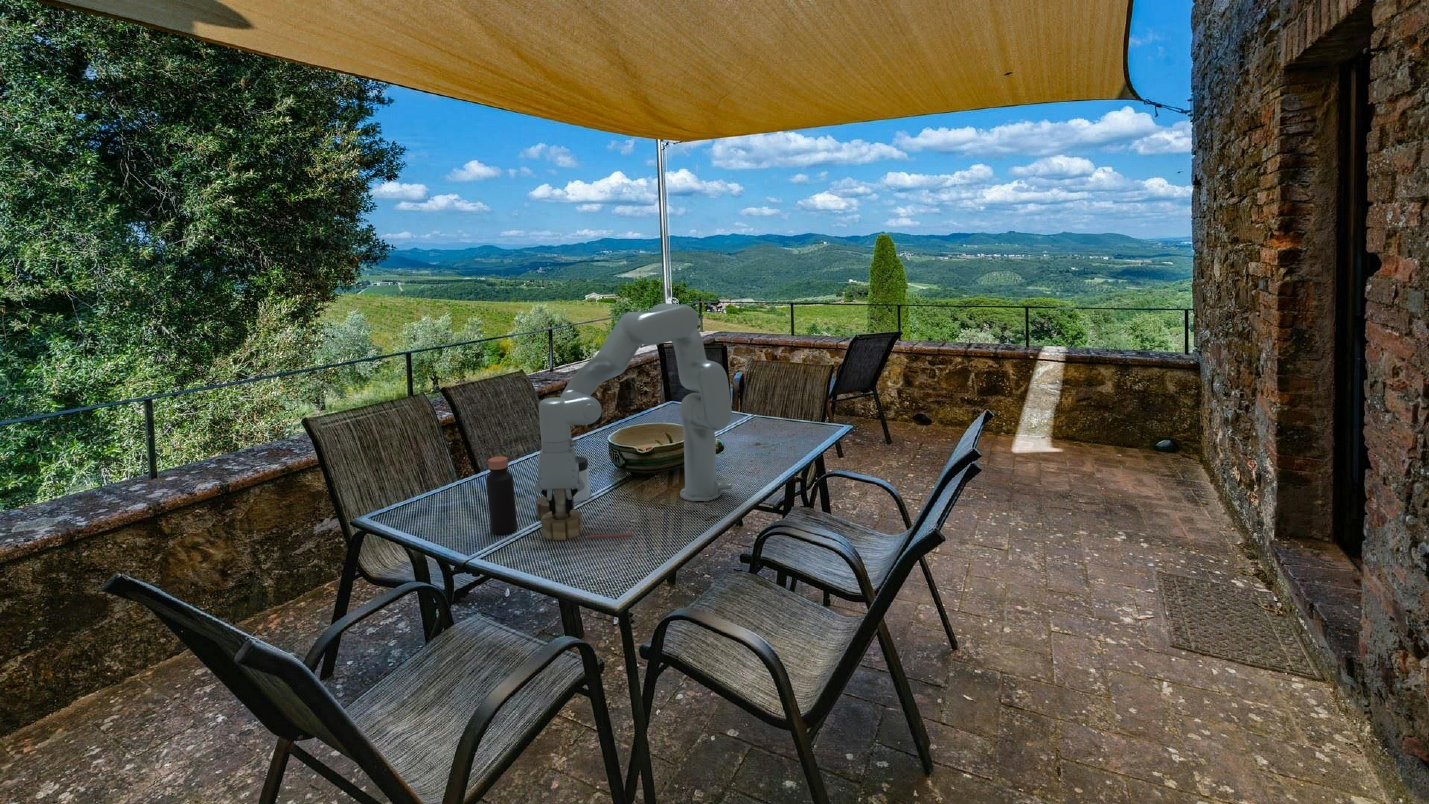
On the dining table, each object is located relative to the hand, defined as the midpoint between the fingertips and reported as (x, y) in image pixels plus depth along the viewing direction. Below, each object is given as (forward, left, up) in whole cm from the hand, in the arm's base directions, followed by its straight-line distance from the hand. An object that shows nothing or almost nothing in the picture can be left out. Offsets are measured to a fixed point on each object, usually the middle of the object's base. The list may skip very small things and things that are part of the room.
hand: (561, 512), depth 172 cm
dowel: (0, 0, -3) cm, 3 cm away
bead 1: (+4, -13, -6) cm, 15 cm away
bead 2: (0, 0, -6) cm, 6 cm away
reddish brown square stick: (-13, +5, -6) cm, 15 cm away
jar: (0, -26, -6) cm, 27 cm away
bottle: (+16, -3, -6) cm, 17 cm away
